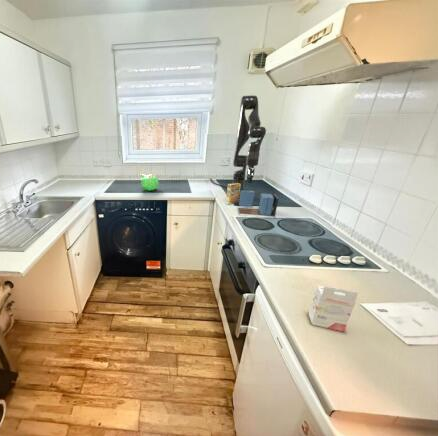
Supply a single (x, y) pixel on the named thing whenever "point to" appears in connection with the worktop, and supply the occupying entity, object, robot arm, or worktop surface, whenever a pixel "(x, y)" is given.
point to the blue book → (246, 198)
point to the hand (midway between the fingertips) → (249, 181)
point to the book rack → (255, 211)
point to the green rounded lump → (149, 182)
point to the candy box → (233, 193)
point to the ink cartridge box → (332, 307)
